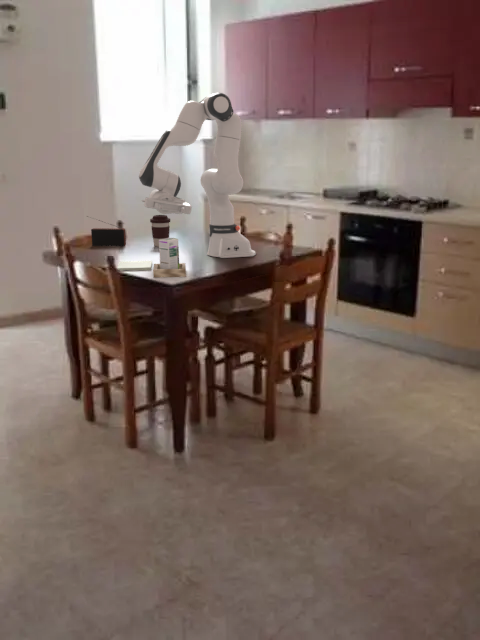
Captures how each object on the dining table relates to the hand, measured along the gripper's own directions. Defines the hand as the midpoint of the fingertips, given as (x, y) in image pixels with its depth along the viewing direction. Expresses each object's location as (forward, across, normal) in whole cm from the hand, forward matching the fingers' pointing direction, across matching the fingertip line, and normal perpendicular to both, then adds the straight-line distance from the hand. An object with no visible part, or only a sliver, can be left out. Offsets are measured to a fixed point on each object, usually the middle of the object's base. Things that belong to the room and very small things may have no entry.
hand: (171, 208), depth 306 cm
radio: (-62, -13, +32) cm, 71 cm away
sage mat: (-4, -10, +28) cm, 30 cm away
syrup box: (+14, 0, +25) cm, 28 cm away
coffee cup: (-52, +12, +26) cm, 60 cm away
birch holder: (+14, 0, +24) cm, 28 cm away
